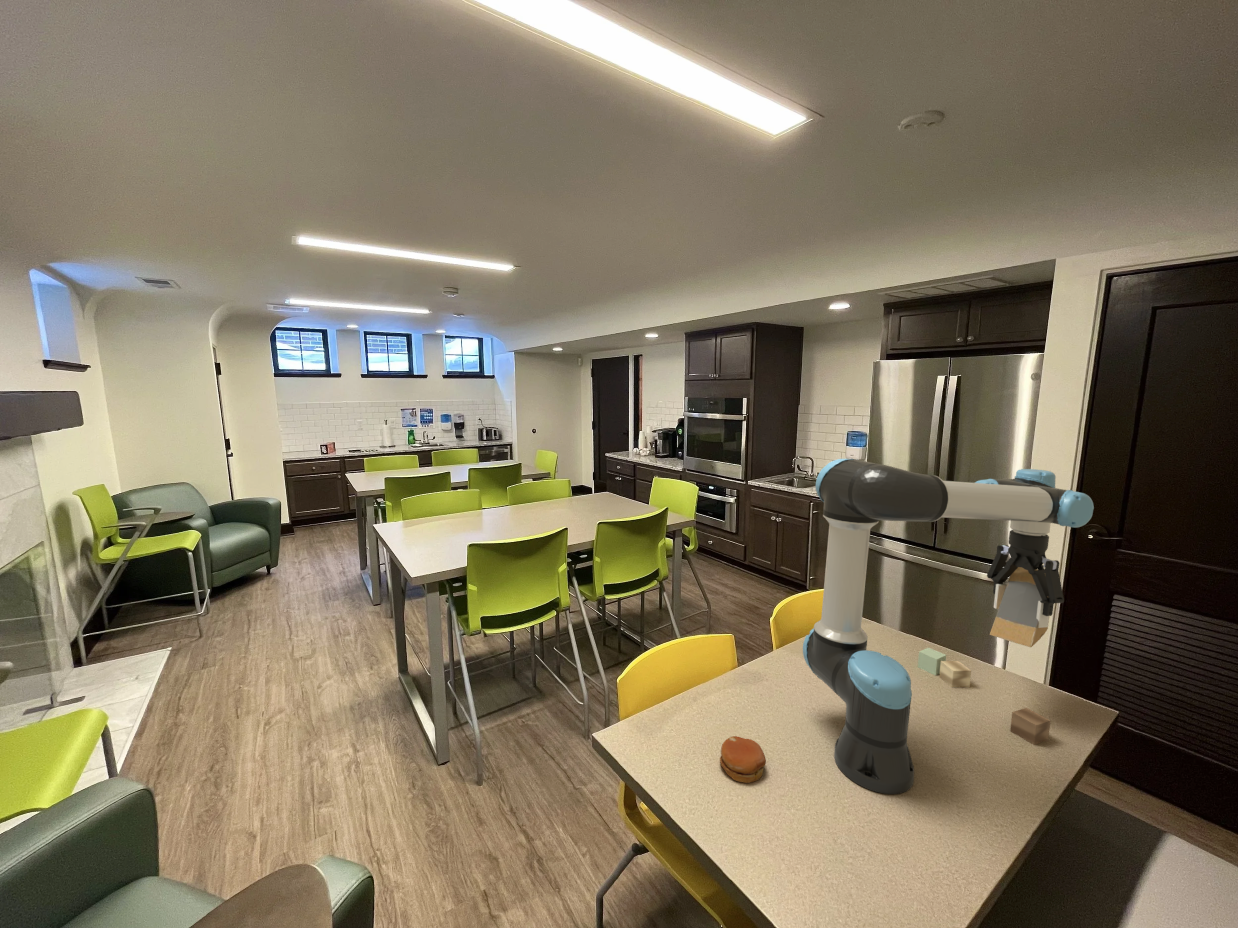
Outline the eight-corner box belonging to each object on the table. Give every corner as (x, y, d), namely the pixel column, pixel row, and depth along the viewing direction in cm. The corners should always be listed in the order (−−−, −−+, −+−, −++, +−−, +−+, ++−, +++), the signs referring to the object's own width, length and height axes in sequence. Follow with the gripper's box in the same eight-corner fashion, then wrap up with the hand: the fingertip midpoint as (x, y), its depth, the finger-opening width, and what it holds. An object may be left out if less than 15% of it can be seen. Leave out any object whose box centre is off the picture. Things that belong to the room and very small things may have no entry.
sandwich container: (987, 634, 121) (993, 576, 119) (1007, 617, 130) (1012, 563, 128) (1031, 648, 114) (1038, 587, 112) (1049, 629, 123) (1055, 572, 121)
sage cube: (935, 675, 139) (936, 659, 138) (917, 667, 143) (918, 651, 143) (944, 670, 141) (946, 654, 141) (927, 662, 146) (928, 647, 145)
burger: (749, 791, 98) (750, 770, 97) (711, 767, 104) (711, 747, 104) (773, 766, 105) (774, 746, 104) (735, 744, 111) (736, 725, 110)
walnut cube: (1033, 745, 111) (1036, 725, 110) (1010, 731, 115) (1012, 711, 115) (1048, 740, 112) (1050, 720, 112) (1024, 726, 117) (1026, 707, 116)
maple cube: (951, 687, 133) (953, 670, 132) (939, 677, 138) (940, 660, 137) (969, 687, 133) (971, 670, 133) (956, 677, 138) (958, 660, 138)
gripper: (1093, 544, 109) (1081, 637, 112) (999, 520, 132) (991, 598, 135) (1065, 545, 108) (1053, 639, 111) (975, 521, 131) (967, 599, 133)
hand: (1019, 616), depth 123 cm, fingers closed on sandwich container, 10 cm apart
